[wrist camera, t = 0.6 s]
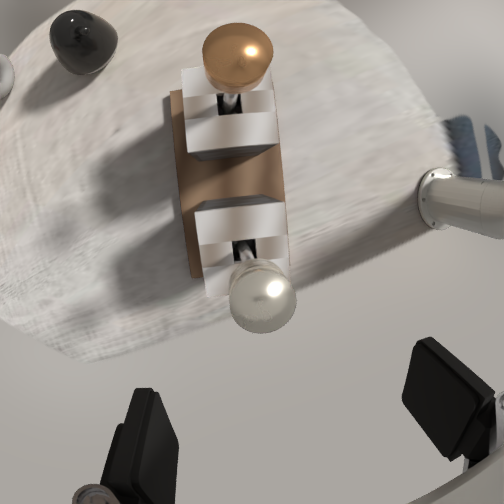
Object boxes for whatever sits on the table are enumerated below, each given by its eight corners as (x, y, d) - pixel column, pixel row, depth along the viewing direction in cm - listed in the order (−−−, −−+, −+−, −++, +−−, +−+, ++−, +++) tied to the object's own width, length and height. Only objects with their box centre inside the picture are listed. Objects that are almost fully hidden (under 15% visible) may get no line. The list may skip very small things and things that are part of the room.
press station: (271, 84, 42) (298, 39, 25) (287, 263, 49) (322, 306, 32) (171, 94, 40) (147, 51, 24) (192, 275, 48) (180, 325, 31)
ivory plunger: (264, 206, 36) (318, 239, 17) (269, 260, 38) (320, 343, 19) (208, 212, 36) (195, 254, 16) (215, 267, 38) (214, 359, 18)
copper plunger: (253, 90, 32) (290, 5, 13) (258, 142, 34) (306, 101, 15) (196, 95, 32) (174, 11, 12) (201, 148, 34) (179, 111, 14)
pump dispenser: (101, 89, 38) (60, 60, 24) (63, 70, 36) (19, 44, 22) (136, 41, 37) (109, -2, 22) (95, 26, 35) (62, -12, 20)
